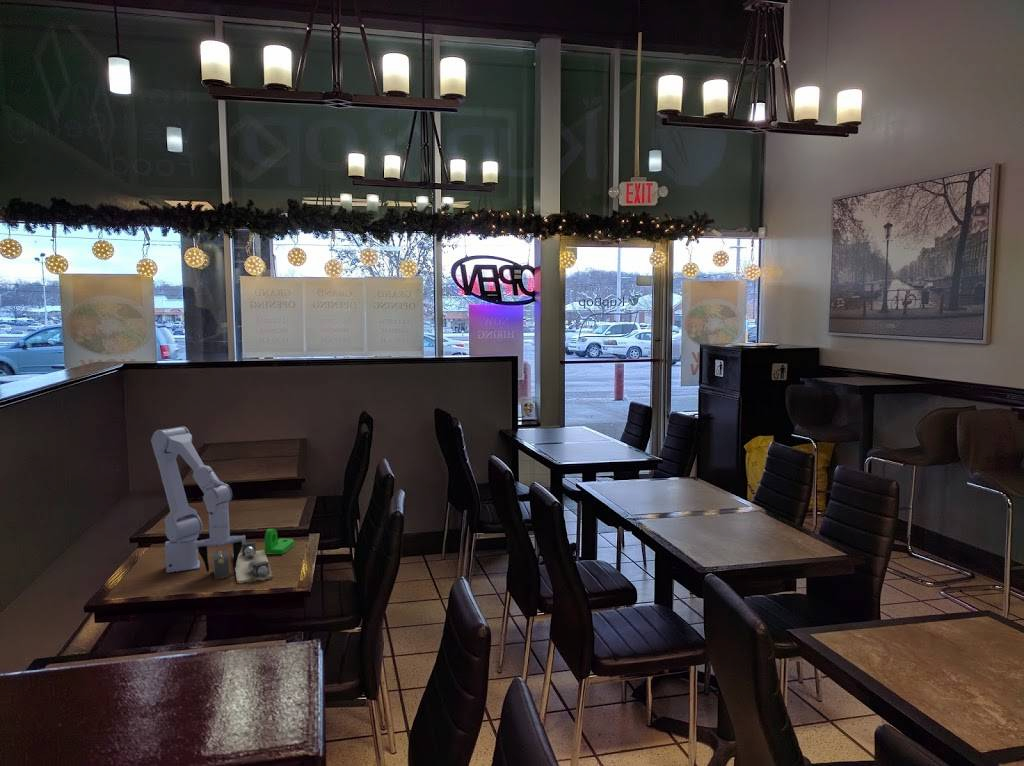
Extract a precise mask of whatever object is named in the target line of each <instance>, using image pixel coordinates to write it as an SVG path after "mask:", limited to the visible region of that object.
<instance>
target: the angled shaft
mask: <svg viewBox="0 0 1024 766" xmlns="http://www.w3.org/2000/svg"><path fill="white" fill-rule="evenodd" d="M269 566H270V563H269V561H268V562H266V561H264V562H260V563H258V562H256V561H252V562H250V563H249V566H248V568H249V570H251V571H252V572H253V576H254V577H260V576H261V577H266V576H268V574H269Z"/></svg>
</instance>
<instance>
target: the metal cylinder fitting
mask: <svg viewBox="0 0 1024 766" xmlns="http://www.w3.org/2000/svg"><path fill="white" fill-rule="evenodd" d="M256 551H257V550H256V541H249V542H247V541H246V543H242V548H241V553H242V554H243V555H245V556H246V558H248V559H251V558H253V557H254V556H255V554H256Z"/></svg>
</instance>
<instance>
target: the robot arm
mask: <svg viewBox="0 0 1024 766" xmlns="http://www.w3.org/2000/svg"><path fill="white" fill-rule="evenodd" d="M150 441H151V442H150V443H151V445H152V449H153V450H152V451H153V453H154V457H155V458H156V462H157V465H158V469H159V470H158V471H159V473H160V477H161V482H162V485H163V489H164V492H165V495H166V499H167V505H168V507H169V511H170V512H169V513H168V514H167V516H166V517H165V518H164V525H165V528H164V530H165V531H164V533H165V536H166V538H167V539H168V540H167V541H165V542H164V543H165V544H164V546H165V547H164V551H165V554H164V555H165V559H164V565H165V569H166V570H165V572H166V573H174V572H175V571H176V572H183V571H190V570H198V569H201V564H200V563H201V562H200V559H199V556H200V558H202V561H203V563H204V566H205V570H206V572H210V567H209V566H210V565H209V559H208V558H209V557H208V548H211V547H217V546H226V545H232V551H233V553H232V554H233V555H232V565H233V568H234V569H235V568H236V563H237V558H238V555H239V553H241V551H242V543H246V542H247V541H246V535H245V534H243V535H231V532H230V515H229V514H230V513H229V512H230V511H229V502H230V501H231V500H232V498H233V491H232V488H231V487H230V485H229V484H227V483H224V482H223V481H221V480H220V479H219V477H218V475H216V473H215V471H214V470H213V468H212V467H211V466H209V465H205V464H204V462H203V461H202V459H201V457H200V456H199V453H198V451H197V450H196V447H195V446H194V444H193V434H191V433H190V431H189V429H188V427H186V426H185V425H184V426H183V425H182V426H178V427H172V428H165V429H164V428H163V429H157V430H155V431H154V433H152V436H151V439H150ZM179 455H180V456H181V457H182V459H183V460H184V461H185V463H186V464H187V465H188V466H189V467H190V469H191V470H192V471H193V473H192V478H193V479H194V481H195V482H196V484H197V485H198V487H199V488H200V490H201V491H202V493H203V496H202V499H203V502H204V504H205V506H206V512H208V529H209V530H208V531H209V532H208V533H209V538H206V539H200V540H198V538H200V535H199V534H201V532H202V531H203V521H202V519H201V518H200V515H199V514H198V511H197V510H196V509H194V508H193V507H191V506H189V503H188V499H187V495H186V492H185V488H184V483H183V481H182V476H181V472H180V469H179V465H178V463H177V458H178V456H179Z"/></svg>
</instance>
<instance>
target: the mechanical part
mask: <svg viewBox="0 0 1024 766" xmlns="http://www.w3.org/2000/svg"><path fill="white" fill-rule="evenodd" d="M293 545H294V546H295V541H294V539H293V538H279V539H278V531H277V529H276V528H268V529H266V531H265V533H264V550H265V553H273V554H283V553H284V552H285V551H287V550H288V549H289V548H290V547H291V546H293ZM294 546H293V547H294ZM288 551H289V550H288ZM288 551H287V552H288ZM283 555H284V554H283Z"/></svg>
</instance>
